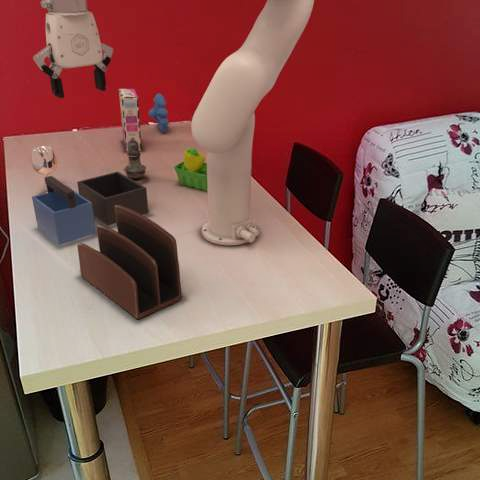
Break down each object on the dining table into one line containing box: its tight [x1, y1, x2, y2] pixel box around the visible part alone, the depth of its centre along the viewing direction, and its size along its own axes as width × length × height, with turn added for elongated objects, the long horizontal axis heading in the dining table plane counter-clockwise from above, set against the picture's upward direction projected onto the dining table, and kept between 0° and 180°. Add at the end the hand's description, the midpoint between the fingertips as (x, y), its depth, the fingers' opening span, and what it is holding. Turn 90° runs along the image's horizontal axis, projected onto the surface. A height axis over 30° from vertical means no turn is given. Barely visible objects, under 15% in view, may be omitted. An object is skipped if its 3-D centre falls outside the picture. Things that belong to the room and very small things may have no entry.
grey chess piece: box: [123, 137, 147, 181], centre depth 153 cm, size 6×6×12 cm
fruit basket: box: [173, 147, 208, 192], centre depth 152 cm, size 11×9×11 cm
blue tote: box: [31, 175, 97, 246], centre depth 126 cm, size 11×9×12 cm
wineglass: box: [30, 145, 58, 193], centre depth 143 cm, size 6×6×12 cm
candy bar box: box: [118, 88, 143, 153], centre depth 176 cm, size 11×5×16 cm, turn 17°
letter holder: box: [77, 205, 183, 320], centre depth 107 cm, size 10×20×14 cm, turn 45°
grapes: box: [147, 92, 170, 133], centre depth 191 cm, size 12×7×12 cm, turn 22°
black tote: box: [77, 171, 149, 227], centre depth 137 cm, size 13×11×7 cm
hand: (80, 93), depth 123 cm, fingers open, 9 cm apart
